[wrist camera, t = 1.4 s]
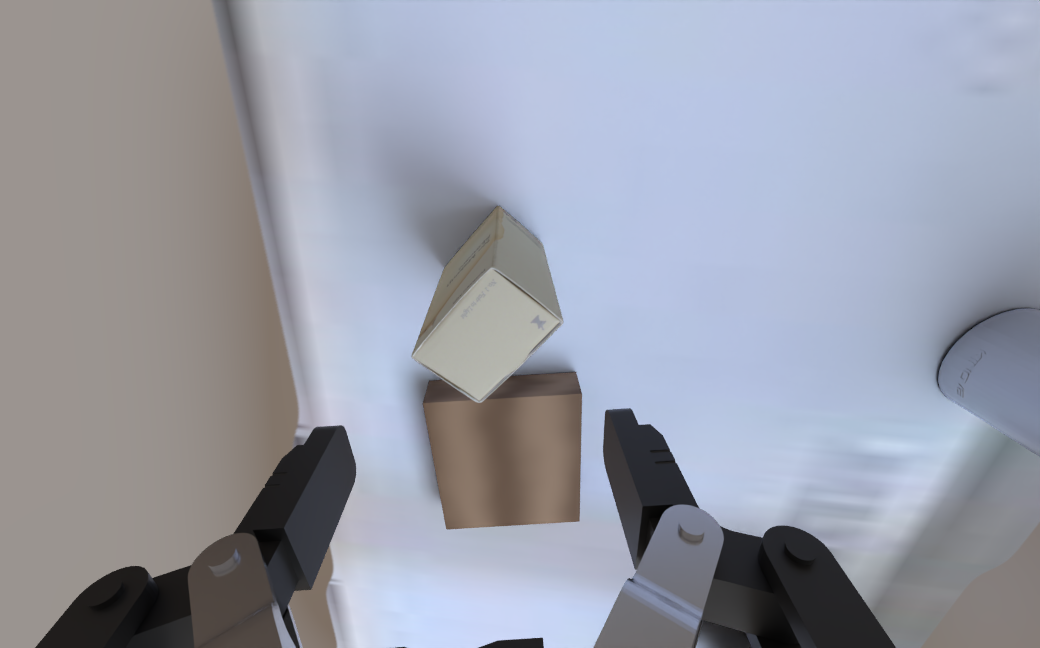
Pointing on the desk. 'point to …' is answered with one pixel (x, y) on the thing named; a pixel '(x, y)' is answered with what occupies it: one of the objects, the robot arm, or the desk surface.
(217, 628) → the robot arm
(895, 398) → the desk surface
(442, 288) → the skincare box
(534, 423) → the walnut stand
